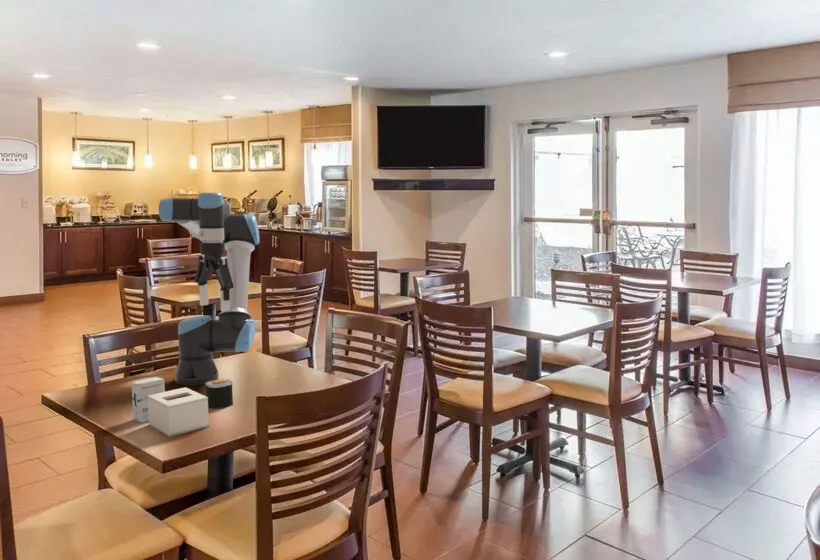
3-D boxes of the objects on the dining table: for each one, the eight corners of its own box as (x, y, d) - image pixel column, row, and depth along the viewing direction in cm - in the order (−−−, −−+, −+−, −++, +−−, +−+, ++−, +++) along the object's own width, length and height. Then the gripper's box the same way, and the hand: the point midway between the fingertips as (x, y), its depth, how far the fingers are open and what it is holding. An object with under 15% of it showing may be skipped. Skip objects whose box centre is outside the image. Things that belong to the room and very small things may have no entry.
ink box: (158, 412, 217) (156, 375, 215) (167, 415, 214) (165, 378, 212) (132, 419, 210) (130, 381, 209) (141, 423, 207) (138, 384, 206)
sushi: (236, 405, 224) (235, 381, 223) (210, 409, 219) (209, 385, 218) (228, 398, 231) (227, 375, 230) (203, 403, 226) (202, 379, 225)
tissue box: (148, 424, 206) (147, 395, 204) (186, 415, 214) (185, 387, 213) (170, 436, 196) (168, 406, 195) (208, 426, 204) (207, 397, 203)
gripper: (182, 240, 225) (185, 304, 228) (221, 244, 207) (223, 314, 210) (203, 238, 230) (206, 301, 233) (243, 243, 212) (245, 311, 215)
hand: (214, 307), depth 221 cm, fingers open, 13 cm apart
